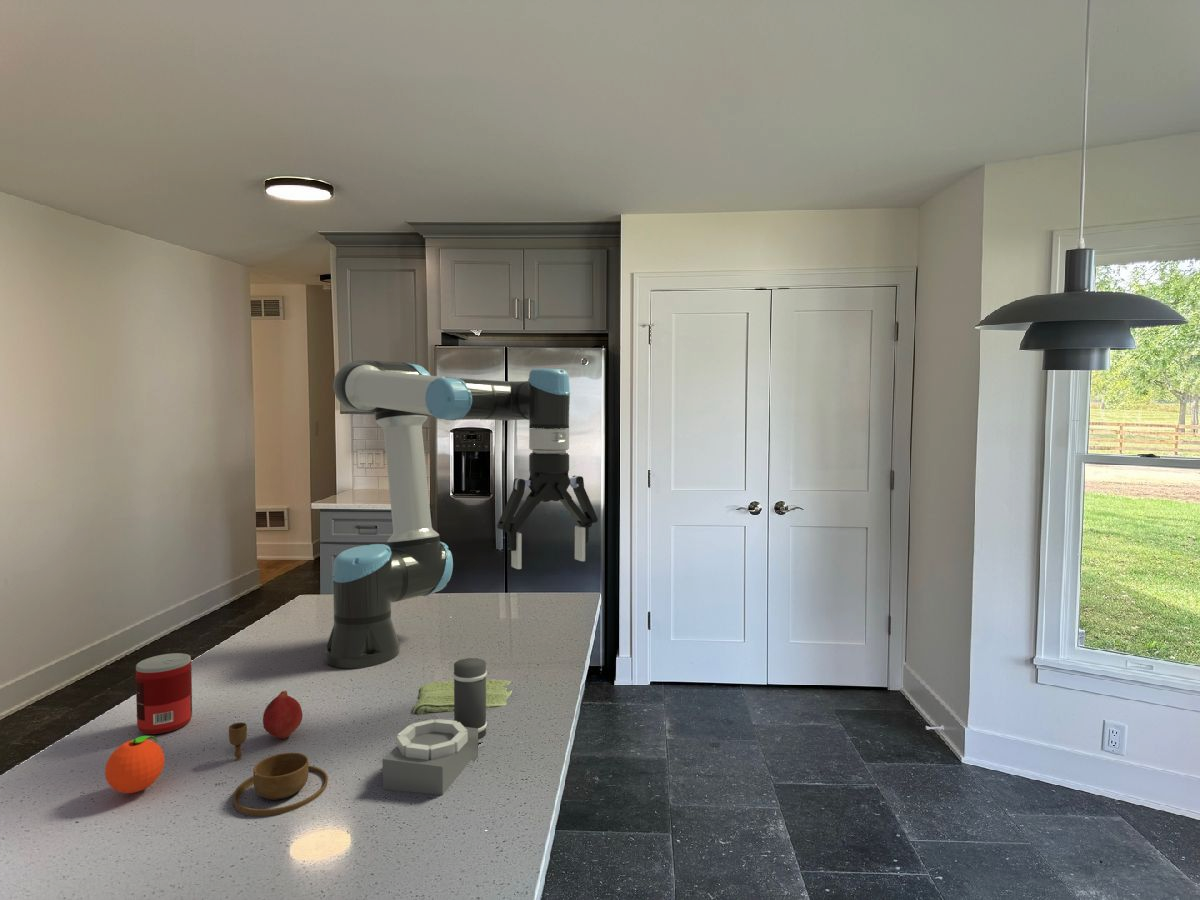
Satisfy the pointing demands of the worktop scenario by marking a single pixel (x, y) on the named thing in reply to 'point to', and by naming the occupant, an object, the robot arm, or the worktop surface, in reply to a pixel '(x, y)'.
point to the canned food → (164, 693)
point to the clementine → (135, 765)
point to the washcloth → (442, 696)
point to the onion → (282, 716)
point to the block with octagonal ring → (429, 756)
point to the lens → (470, 694)
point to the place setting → (273, 776)
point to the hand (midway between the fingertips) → (549, 564)
